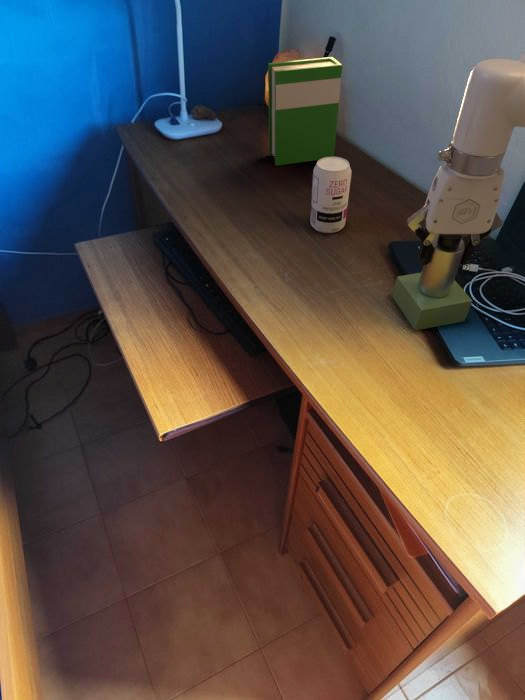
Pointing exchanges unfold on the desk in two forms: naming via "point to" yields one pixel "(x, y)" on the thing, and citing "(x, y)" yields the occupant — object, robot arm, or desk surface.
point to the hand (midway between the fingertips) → (442, 259)
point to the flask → (442, 265)
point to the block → (430, 304)
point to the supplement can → (330, 194)
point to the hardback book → (303, 109)
